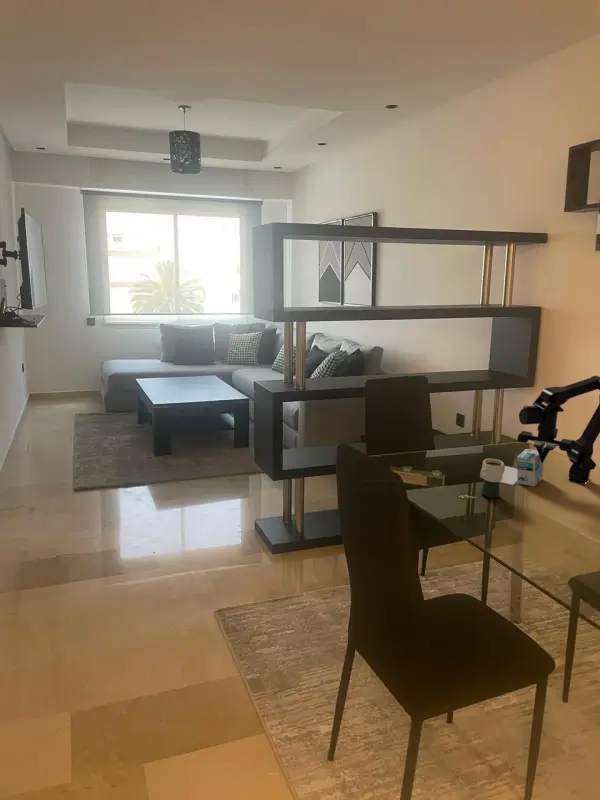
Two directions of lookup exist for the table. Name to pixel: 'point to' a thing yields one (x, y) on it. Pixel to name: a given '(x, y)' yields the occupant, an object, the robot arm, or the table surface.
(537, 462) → the light bulb box
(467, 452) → the table surface
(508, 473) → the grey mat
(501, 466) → the character mug
